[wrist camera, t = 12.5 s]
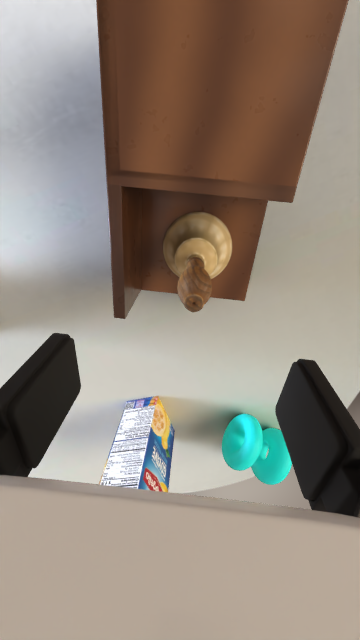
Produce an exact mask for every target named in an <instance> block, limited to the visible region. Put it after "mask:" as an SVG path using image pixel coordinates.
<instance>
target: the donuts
mask: <svg viewBox="0 0 360 640" xmlns="http://www.w3.org/2000/svg"><path fill="white" fill-rule="evenodd" d="M268 448H269V453H268V456H267V457H266V453H267V450H268ZM222 453H223V457H224V460H225V462H226V463H227V464H228V466H230V467H231V468H232V469H234V470H239V471H241V470H245V469H247V468H249V467H251V468H252V470H253V473H254V474H255V476H256V477H257V478H258V479H259V480H260V481H261V482H263V483H266V484H270V485H274V484H277V483H279V482H281V481H282V480H283V479H285V477H286V476H287V475H288V473H289V471H290V469H291V466H292V461H291V458H290V455H289V452H288V449H287V446H286V443H285V440H284V437H283V434H282V431H281V430H279V429H276V428H267V429H265V430H263V431H262V429H261V426H260V424H259V422H258V421H257V419H256V418H255V417H253V416H252V415H249V414H240V415H238V416H236V417H235V418H233V419H232V420H231V422H230V423H229V424H228V426H227V428H226V430H225V433H224V436H223V440H222Z"/></svg>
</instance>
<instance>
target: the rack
mask: <svg viewBox="0 0 360 640" xmlns="http://www.w3.org/2000/svg"><path fill="white" fill-rule="evenodd" d="M348 1H349V0H96V2H97V20H98V38H99V56H100V74H101V92H102V109H103V127H104V145H105V163H106V181H107V199H108V216H109V234H110V252H111V270H112V288H113V306H114V318H122V319H125V318H126V316H127V315H128V313H129V311H130V309H131V307H132V306H133V304H134V302H135V300H136V298H137V297H138V295H139V293H140V291H141V290H149V291H158V292H167V293H176V294H178V290H177V286H178V281H179V278H180V277H178V276H177V275H176V274H174V273H173V272H172V271H171V269H170V268H169V267H168V265H167V263H166V261H165V258H164V255H163V240H164V237H165V234H166V232H167V230H168V228H169V227H170V225H171V224H172V223H173V222H174V221H175V220H176V219H177V218H179V217H181V216H182V215H185V214H187V213H191V212H205V213H209V214H211V215H214V216H215V217H217V218H218V219H220V220H221V221H222V222H223V223H224V224H225V226H226V227H227V229H228V231H229V233H230V236H231V239H232V253H231V257H230V260H229V262H228V264H227V266H226V267H225V269H224V270H223V271H222V272H221V273H220V274H219V275H217V276H216V277H214V278H212V279H211V283H212V292H211V295H210V297H213V298H222V299H232V300H241V301H245V297H246V292H247V288H248V284H249V280H250V275H251V271H252V267H253V263H254V258H255V254H256V250H257V245H258V241H259V237H260V233H261V228H262V224H263V220H264V216H265V211H266V207H267V203H268V200H269V201H279V202H290V203H292V202H293V199H294V195H295V192H296V188H297V184H298V180H299V177H300V173H301V169H302V166H303V162H304V159H305V155H306V152H307V148H308V144H309V141H310V137H311V134H312V130H313V126H314V123H315V119H316V116H317V112H318V109H319V105H320V101H321V98H322V94H323V91H324V87H325V83H326V80H327V76H328V73H329V69H330V66H331V62H332V58H333V55H334V51H335V48H336V44H337V40H338V37H339V33H340V30H341V26H342V22H343V19H344V15H345V12H346V8H347V5H348Z"/></svg>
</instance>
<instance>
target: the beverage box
mask: <svg viewBox="0 0 360 640" xmlns="http://www.w3.org/2000/svg"><path fill="white" fill-rule="evenodd" d="M174 432H175V430H174V428H173V426H172V424H171V422H170V420H169V418H168V416H167V414H166V412H165V409H164V407H163V405H162V403H161V401H160V399H159V397H158V396H155V397H149V398H143V399H137V400H131V401H127V403H126V406H125V409H124V412H123V415H122V418H121V421H120V424H119V426H118V429H117V432H116V435H115V438H114V441H113V444H112V447H111V450H110V453H109V456H108V459H107V462H106V465H105V468H104V471H103V474H102V476H101V479H100V482H99V485H107V486H116V487H125V488H134V489H143V490H152V491H160V492H168V487H169V478H170V468H171V459H172V450H173V441H174Z"/></svg>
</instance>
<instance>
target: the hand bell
mask: <svg viewBox="0 0 360 640" xmlns="http://www.w3.org/2000/svg"><path fill="white" fill-rule="evenodd" d="M231 253H232V239H231V236H230V233H229V231H228V229H227V227H226V226H225V224H224V223H223V222H222V221H221V220H220V219H218V218H217V217H215V216H214V215H211V214H209V213H205V212H191V213H187V214H185V215H182V216H181V217H179V218H177V219H176V220H175V221H174V222H173V223H172V224H171V225H170V227H169V228H168V230H167V232H166V234H165V237H164V240H163V255H164V258H165V261H166V263H167V265H168V267H169V268H170V269H171V271H172V272H173V273H174V274H176V275H177V276H178V277H180V278H179V281H178V286H177V290H178V295H179V298H180V299H181V301H182V303H183V304H184V306H185V308H186V309H187V310H189V311H191V312H197V311H199V310H201V309H202V308H203V305H204V304H205V303H206V302H207V301H208V299H209V298H210V295H211V292H212V283H211V279H212V278H214V277H216V276H217V275H219V274H220V273H221V272H222V271H223V270H224V269H225V267H226V266H227V264H228V262H229V260H230V257H231Z"/></svg>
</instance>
